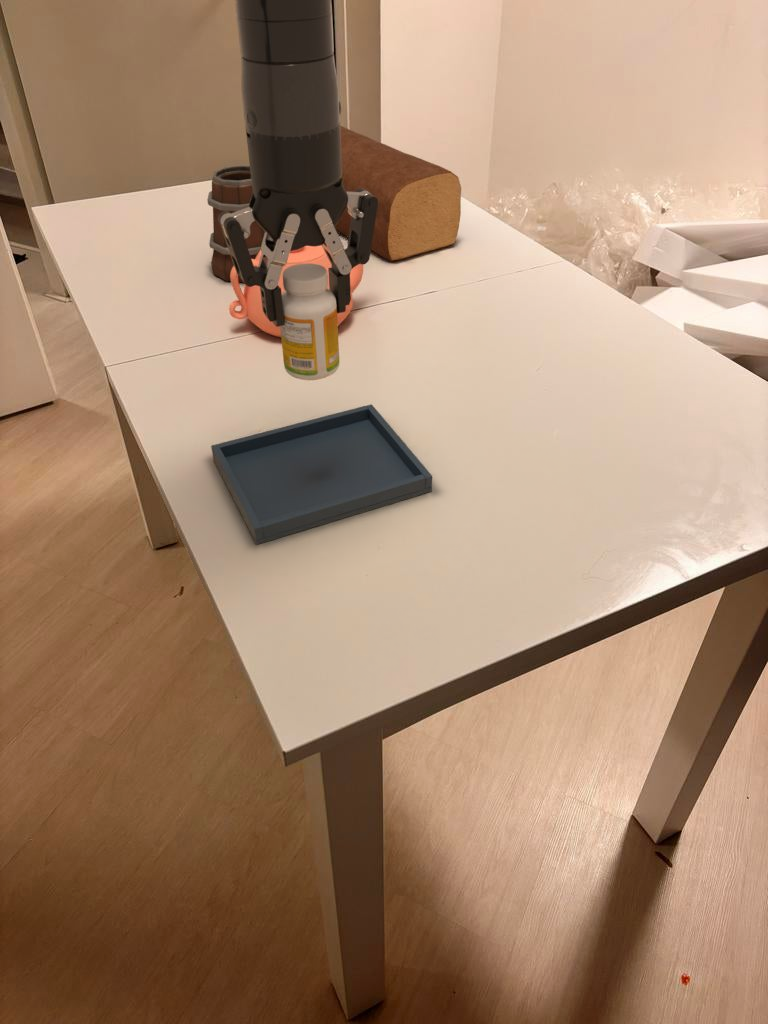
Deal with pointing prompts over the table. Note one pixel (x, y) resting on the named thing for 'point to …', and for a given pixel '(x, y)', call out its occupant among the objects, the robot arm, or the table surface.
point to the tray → (318, 472)
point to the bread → (401, 197)
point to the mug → (231, 196)
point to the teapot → (252, 295)
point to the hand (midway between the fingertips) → (307, 315)
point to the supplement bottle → (309, 323)
